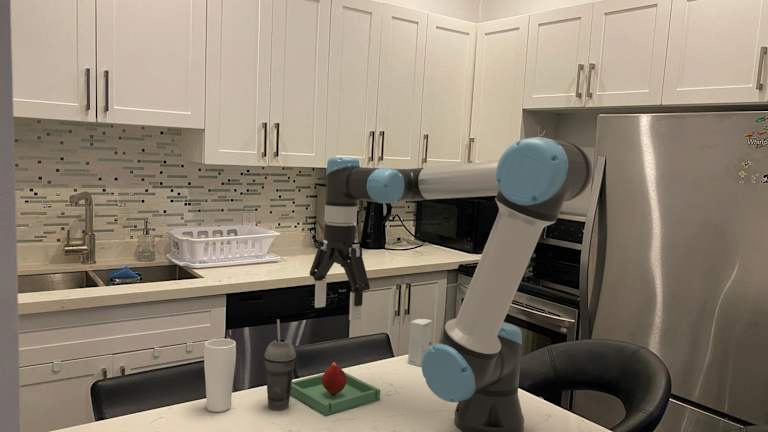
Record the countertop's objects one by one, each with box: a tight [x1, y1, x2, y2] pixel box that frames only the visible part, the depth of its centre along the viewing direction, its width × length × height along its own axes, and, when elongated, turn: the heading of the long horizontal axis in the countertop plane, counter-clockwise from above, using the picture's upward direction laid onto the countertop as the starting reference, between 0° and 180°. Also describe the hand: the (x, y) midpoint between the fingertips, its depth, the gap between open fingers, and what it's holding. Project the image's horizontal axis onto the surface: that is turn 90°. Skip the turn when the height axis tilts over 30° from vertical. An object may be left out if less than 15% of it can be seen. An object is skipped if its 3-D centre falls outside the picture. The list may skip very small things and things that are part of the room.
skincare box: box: [407, 317, 433, 367], centre depth 172 cm, size 6×4×12 cm
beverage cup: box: [263, 319, 297, 412], centre depth 136 cm, size 7×7×20 cm
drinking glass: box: [203, 338, 237, 413], centre depth 134 cm, size 7×7×15 cm
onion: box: [322, 362, 347, 395], centre depth 144 cm, size 6×6×8 cm
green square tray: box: [290, 371, 381, 417], centre depth 144 cm, size 16×16×2 cm
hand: (336, 313), depth 143 cm, fingers open, 13 cm apart
